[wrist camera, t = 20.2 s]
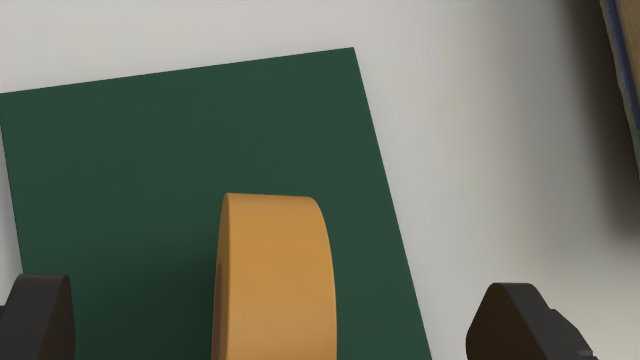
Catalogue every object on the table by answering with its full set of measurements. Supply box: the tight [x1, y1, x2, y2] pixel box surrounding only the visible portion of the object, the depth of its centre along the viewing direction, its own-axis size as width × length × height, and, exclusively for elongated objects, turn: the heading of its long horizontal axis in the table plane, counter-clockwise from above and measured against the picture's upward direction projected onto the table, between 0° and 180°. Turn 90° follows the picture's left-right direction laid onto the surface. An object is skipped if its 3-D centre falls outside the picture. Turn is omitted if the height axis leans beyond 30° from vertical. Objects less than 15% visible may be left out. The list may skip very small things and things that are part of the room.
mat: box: [0, 47, 432, 360], centre depth 19 cm, size 20×13×1 cm, turn 13°
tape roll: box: [211, 193, 337, 360], centre depth 15 cm, size 8×2×8 cm, turn 179°
